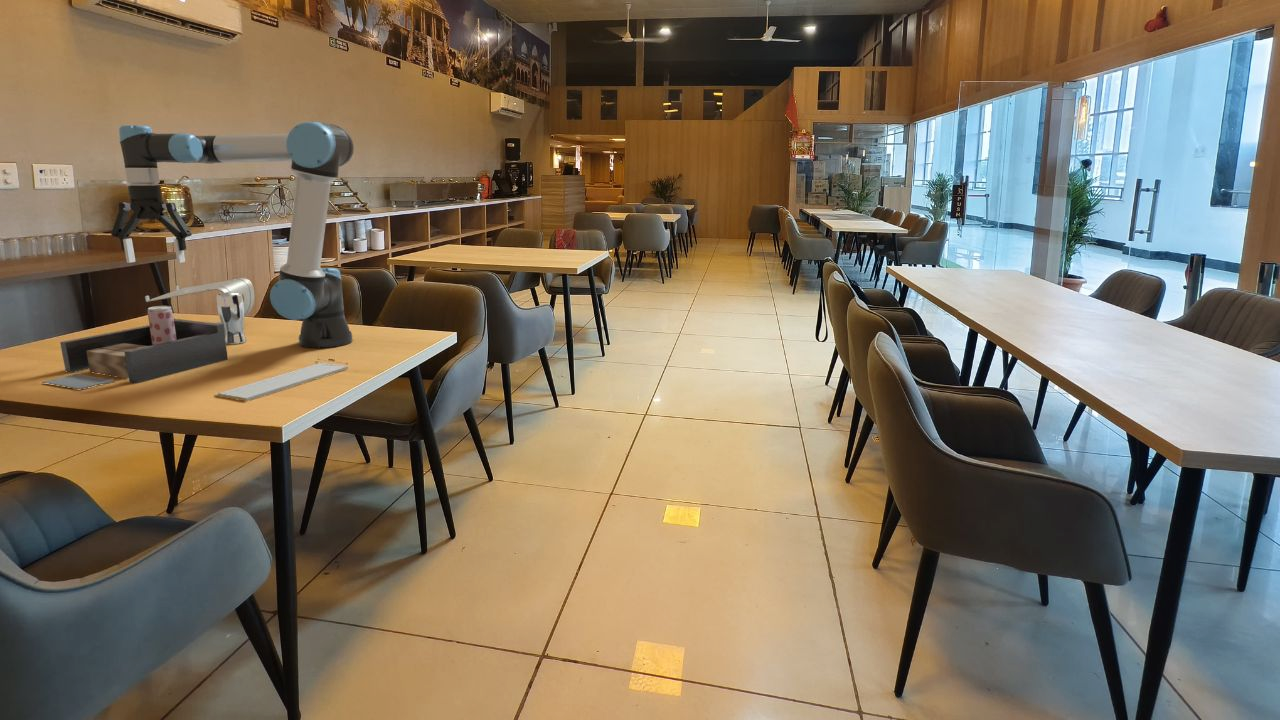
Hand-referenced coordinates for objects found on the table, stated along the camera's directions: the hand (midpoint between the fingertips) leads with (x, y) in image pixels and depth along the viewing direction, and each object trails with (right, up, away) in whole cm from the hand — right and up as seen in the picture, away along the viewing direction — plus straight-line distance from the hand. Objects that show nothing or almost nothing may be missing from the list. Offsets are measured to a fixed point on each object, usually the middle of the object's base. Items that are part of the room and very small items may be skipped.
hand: (156, 262), depth 204 cm
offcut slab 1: (+2, -31, -15) cm, 34 cm away
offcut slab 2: (+1, -31, -18) cm, 36 cm away
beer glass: (+12, -22, +18) cm, 31 cm away
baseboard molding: (+47, -34, -22) cm, 62 cm away
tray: (+5, -29, -9) cm, 30 cm away
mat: (-2, -33, -26) cm, 42 cm away
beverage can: (+6, -28, -5) cm, 29 cm away
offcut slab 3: (+4, -30, -12) cm, 32 cm away
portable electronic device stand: (-6, -18, +34) cm, 39 cm away
